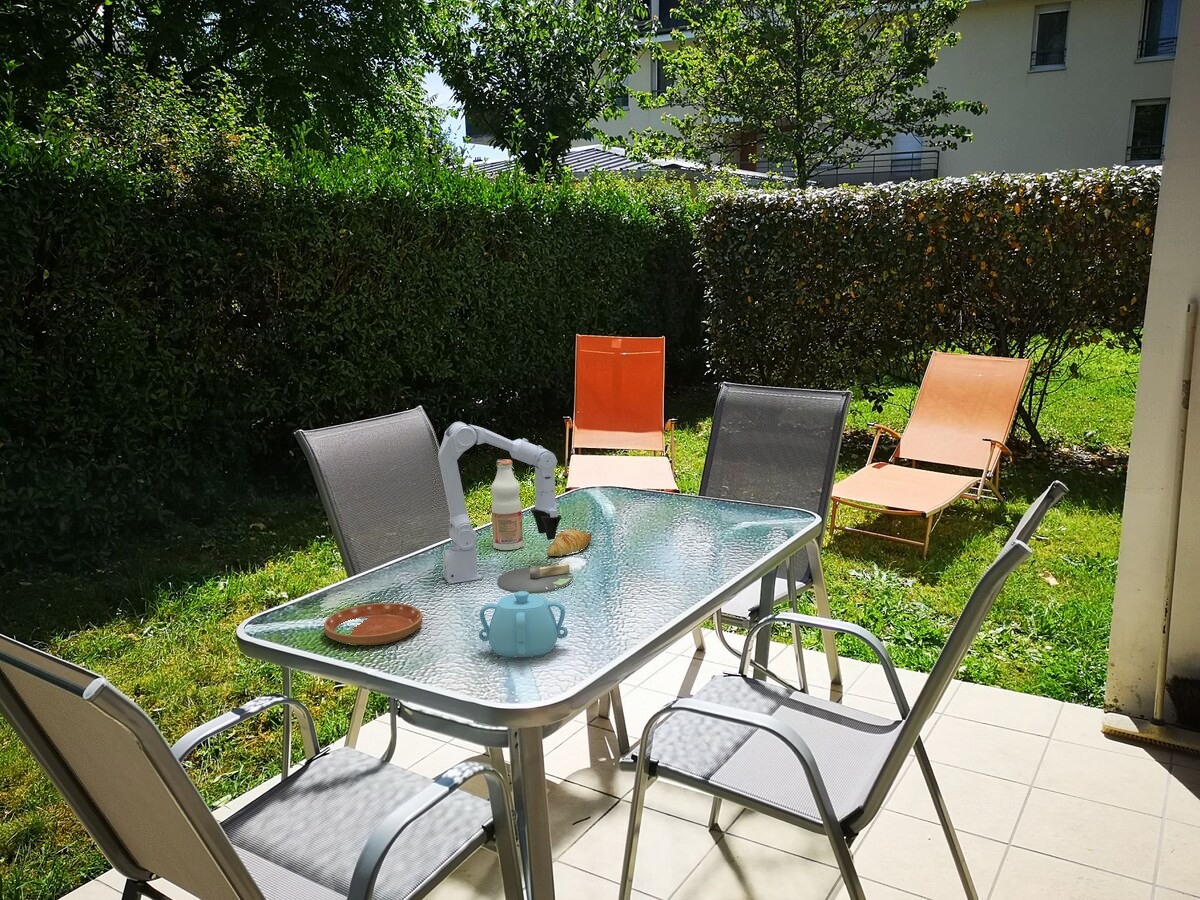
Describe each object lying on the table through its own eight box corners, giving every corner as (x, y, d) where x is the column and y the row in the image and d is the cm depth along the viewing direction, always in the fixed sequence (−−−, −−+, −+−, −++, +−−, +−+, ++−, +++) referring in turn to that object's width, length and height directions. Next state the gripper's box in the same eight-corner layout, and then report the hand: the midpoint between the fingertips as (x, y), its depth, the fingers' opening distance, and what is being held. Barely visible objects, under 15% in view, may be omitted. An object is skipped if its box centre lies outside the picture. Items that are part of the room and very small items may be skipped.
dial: (510, 597, 239) (509, 594, 239) (488, 575, 258) (488, 572, 258) (584, 586, 247) (583, 583, 247) (557, 565, 266) (557, 562, 266)
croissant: (556, 571, 272) (565, 551, 268) (532, 552, 276) (540, 531, 273) (596, 552, 289) (605, 532, 285) (573, 534, 293) (582, 515, 290)
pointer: (531, 578, 250) (531, 570, 250) (528, 576, 253) (528, 567, 253) (570, 573, 255) (570, 564, 254) (567, 570, 257) (566, 562, 257)
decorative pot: (532, 631, 215) (530, 576, 213) (574, 650, 203) (572, 592, 201) (474, 650, 205) (471, 592, 203) (514, 671, 193) (511, 610, 190)
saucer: (383, 609, 233) (382, 595, 233) (442, 628, 219) (441, 613, 218) (305, 636, 216) (304, 622, 216) (364, 659, 202) (362, 643, 201)
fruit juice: (487, 547, 287) (482, 461, 282) (510, 541, 293) (506, 456, 288) (505, 553, 280) (501, 464, 275) (529, 547, 286) (525, 460, 281)
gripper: (567, 493, 256) (568, 540, 259) (549, 484, 270) (551, 528, 272) (543, 496, 254) (544, 543, 256) (527, 486, 267) (528, 531, 269)
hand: (546, 536), depth 264 cm, fingers open, 7 cm apart
